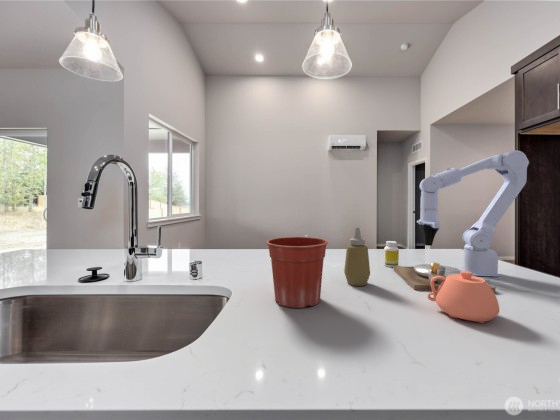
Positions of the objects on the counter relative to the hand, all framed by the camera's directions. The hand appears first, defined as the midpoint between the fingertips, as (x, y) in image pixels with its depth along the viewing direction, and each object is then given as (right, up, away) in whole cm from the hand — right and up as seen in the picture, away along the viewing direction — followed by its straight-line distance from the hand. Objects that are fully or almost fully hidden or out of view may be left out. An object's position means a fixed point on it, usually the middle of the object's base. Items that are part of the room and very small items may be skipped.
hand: (428, 245), depth 102 cm
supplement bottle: (-11, -9, +7) cm, 16 cm away
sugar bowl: (-13, -11, -38) cm, 42 cm away
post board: (-4, -10, -12) cm, 16 cm away
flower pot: (-51, -11, -29) cm, 60 cm away
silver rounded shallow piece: (-5, -8, -13) cm, 16 cm away
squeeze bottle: (-31, -11, -15) cm, 37 cm away
